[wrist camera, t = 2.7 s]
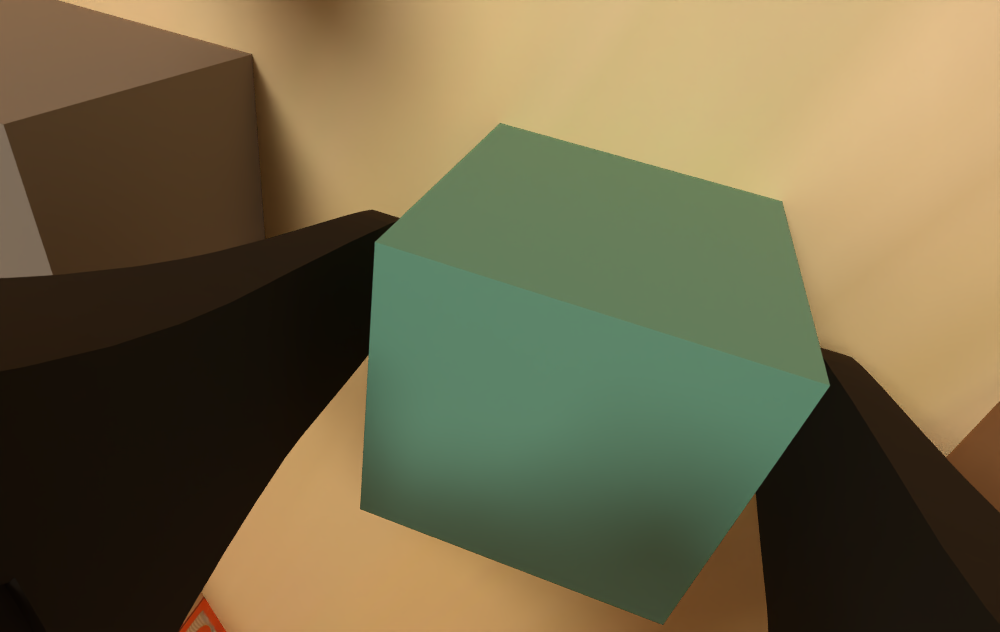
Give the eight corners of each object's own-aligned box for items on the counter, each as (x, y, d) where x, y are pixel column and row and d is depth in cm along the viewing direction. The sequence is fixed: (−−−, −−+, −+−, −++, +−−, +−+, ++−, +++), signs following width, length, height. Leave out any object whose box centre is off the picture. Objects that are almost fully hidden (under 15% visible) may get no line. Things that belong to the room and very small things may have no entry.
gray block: (254, 53, 11) (2, 124, 7) (269, 272, 14) (96, 407, 10) (35, -8, 12) (-306, 26, 8) (92, 213, 15) (-135, 319, 11)
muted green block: (781, 199, 10) (830, 385, 6) (677, 407, 13) (662, 625, 9) (501, 121, 11) (375, 241, 7) (463, 336, 14) (359, 508, 10)
